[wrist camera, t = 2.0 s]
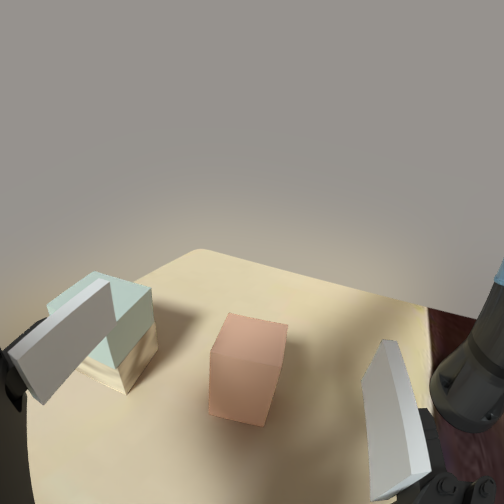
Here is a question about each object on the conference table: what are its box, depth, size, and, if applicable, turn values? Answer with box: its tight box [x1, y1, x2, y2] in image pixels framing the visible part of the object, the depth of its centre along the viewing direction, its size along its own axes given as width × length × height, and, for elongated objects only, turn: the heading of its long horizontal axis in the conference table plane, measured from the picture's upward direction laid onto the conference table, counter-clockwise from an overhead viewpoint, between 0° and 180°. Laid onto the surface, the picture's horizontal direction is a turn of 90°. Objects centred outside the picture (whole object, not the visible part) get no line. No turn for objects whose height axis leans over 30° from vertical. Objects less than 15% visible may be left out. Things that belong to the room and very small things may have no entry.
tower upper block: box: [47, 271, 154, 369], centre depth 27 cm, size 9×9×5 cm
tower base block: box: [75, 321, 158, 395], centre depth 29 cm, size 9×9×5 cm
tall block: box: [209, 313, 288, 427], centre depth 26 cm, size 6×6×10 cm
